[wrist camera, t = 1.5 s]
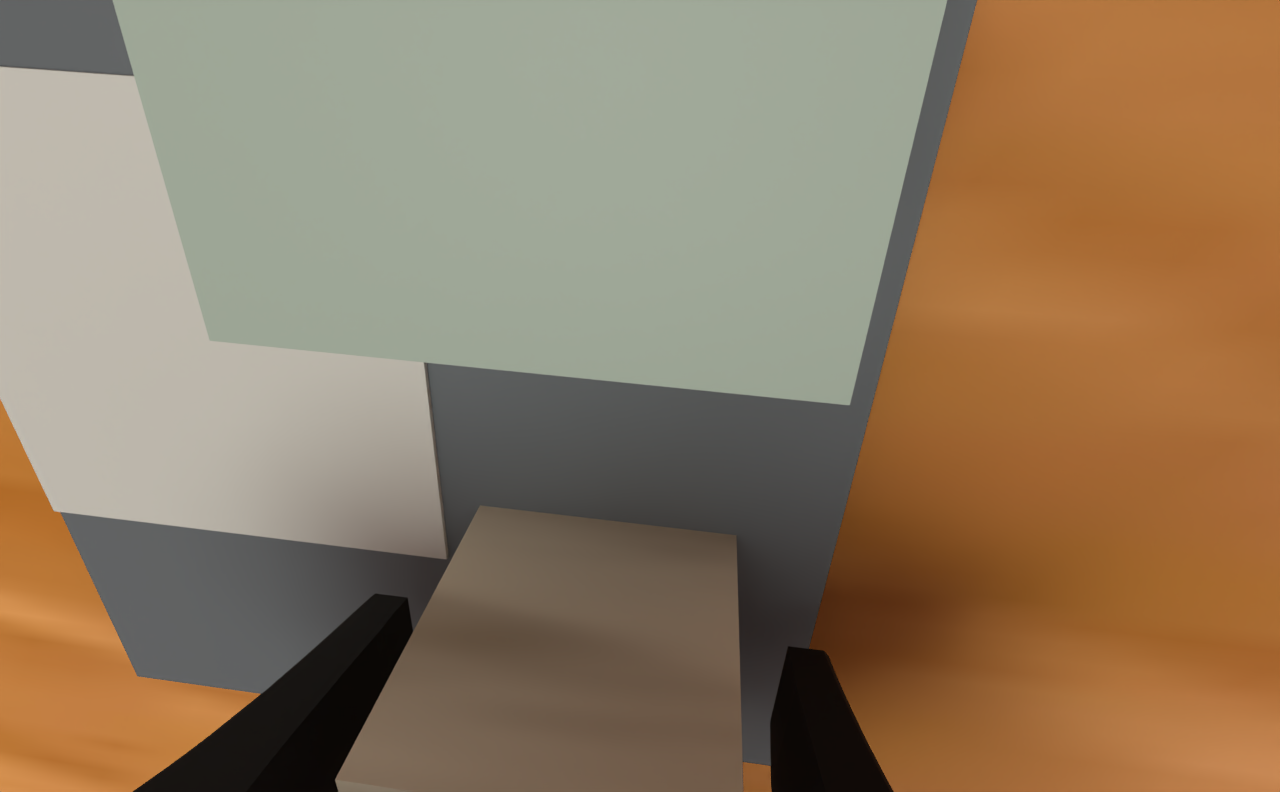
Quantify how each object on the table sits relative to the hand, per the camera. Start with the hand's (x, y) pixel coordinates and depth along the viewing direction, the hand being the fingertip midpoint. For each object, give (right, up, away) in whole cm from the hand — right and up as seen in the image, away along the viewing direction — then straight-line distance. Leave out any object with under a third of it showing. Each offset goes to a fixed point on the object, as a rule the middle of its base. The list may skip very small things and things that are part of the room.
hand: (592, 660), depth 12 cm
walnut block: (0, +1, +1) cm, 1 cm away
